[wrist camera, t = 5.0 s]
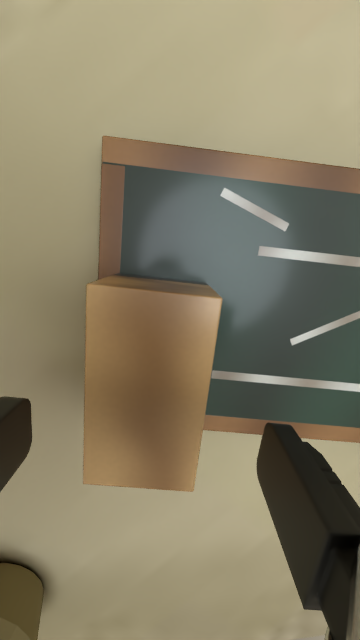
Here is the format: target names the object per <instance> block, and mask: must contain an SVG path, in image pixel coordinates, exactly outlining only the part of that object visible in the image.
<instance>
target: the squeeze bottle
mask: <svg viewBox="0 0 360 640" xmlns="http://www.w3.org/2000/svg"><path fill="white" fill-rule="evenodd" d="M43 593H44V589H43V586H42V583H41V581H40V579H39V578H38V577H37V576H36V575H35V574H34V573H33V572H32V571H30V570H28V569H26V568H24V567H22V566H20V565H15V564H10V563H0V640H37V638H38V630H39V623H40V616H41V608H42V601H43Z"/></svg>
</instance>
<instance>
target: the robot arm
mask: <svg viewBox="0 0 360 640" xmlns="http://www.w3.org/2000/svg"><path fill="white" fill-rule="evenodd" d="M31 442H32V424H31V403H30V401H29V399H25V398H15V397H1V398H0V492H1V490H2V489H3V488H4V486H5V485H6V484H7V482H8V481H9V480H10V478H11V477H12V476H13V474H14V473H15V472H16V470H17V469H18V468H19V466H20V465H21V464H22V462H23V461H24V459H25V458H26V456H27V454H28V452H29V450H30V447H31ZM257 475H258V480H259V483H260V486H261V489H262V491H263V494H264V497H265V500H266V503H267V506H268V508H269V511H270V514H271V517H272V520H273V523H274V525H275V528H276V531H277V534H278V537H279V540H280V543H281V545H282V548H283V551H284V554H285V557H286V560H287V562H288V565H289V568H290V571H291V574H292V577H293V579H294V582H295V585H296V588H297V591H298V594H299V596H300V599H301V602H302V605H303V608H304V609H308V610H322V612H323V614H324V617H325V619H326V622H327V624H328V627H327V630H326V634H325V640H360V507H359V506H358V505H357V503H356V502H355V500H354V499H353V498H352V496H351V495H350V493H349V492H348V491H347V489H346V488H345V486H344V485H342V484H341V481H340V479H339V478H338V477H337V475H336V474H335V472H333V471H332V468H331V467H330V465H329V464H328V462H327V461H326V460H325V458H324V457H323V455H322V454H321V453H319V452H318V451H317V450H316V449H315V448H314V447H312V446H311V445H310V444H309V443H308V442H302V440H301V439H300V437H299V436H298V434H297V433H296V431H295V430H294V428H293V427H292V426H291V425H289V424H279V423H267V424H266V425H265V427H264V432H263V436H262V440H261V445H260V449H259V454H258V458H257Z"/></svg>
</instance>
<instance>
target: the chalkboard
mask: <svg viewBox="0 0 360 640" xmlns="http://www.w3.org/2000/svg"><path fill="white" fill-rule="evenodd" d="M117 273H120V274H130V275H139V276H148V277H157V278H167V279H176V280H185V281H195V282H204V283H207V284H208V285H209V286H210V287H211V288H212V289H213V290H214V291H215V292H216V293H217V294H218V295H220V296H221V297H222V306H221V313H220V320H219V326H218V333H217V339H216V346H215V353H214V359H213V366H212V372H211V379H210V386H209V392H208V399H207V405H206V412H205V419H204V425H203V430H211V431H223V432H235V433H247V434H259V435H263V432H264V427H265V425H266V424H267V423H279V424H289V425H291V426H292V427H293V428H294V430H295V431H296V433H297V434H298V436H299V437H300V438H308V439H320V440H332V441H344V442H356V443H360V169H356V168H348V167H341V166H333V165H325V164H317V163H310V162H302V161H294V160H287V159H279V158H271V157H264V156H256V155H248V154H240V153H233V152H225V151H217V150H210V149H202V148H194V147H187V146H179V145H171V144H163V143H156V142H148V141H140V140H133V139H125V138H117V137H110V136H103V137H102V166H101V202H100V237H99V273H98V280H100V279H102V278H105V277H108V276H111V275H114V274H117Z"/></svg>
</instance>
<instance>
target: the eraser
mask: <svg viewBox="0 0 360 640" xmlns="http://www.w3.org/2000/svg"><path fill="white" fill-rule="evenodd" d="M221 306H222V297H221V296H220V295H218V294H217V293H216V292H215V291H214V290H213V289H212V288H211V287H210V286H209V285H208V284H207V283H204V282H195V281H185V280H176V279H167V278H157V277H148V276H139V275H130V274H120V273H117V274H114V275H111V276H108V277H105V278H102V279H100V280H97V281H94V282H91V283H88V284H87V285H86V335H85V396H84V456H83V484H91V485H105V486H119V487H133V488H147V489H161V490H175V491H188V492H193V490H194V484H195V478H196V471H197V465H198V458H199V451H200V445H201V438H202V432H203V425H204V419H205V412H206V405H207V399H208V392H209V386H210V379H211V372H212V366H213V359H214V353H215V346H216V339H217V333H218V326H219V320H220V313H221Z"/></svg>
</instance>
